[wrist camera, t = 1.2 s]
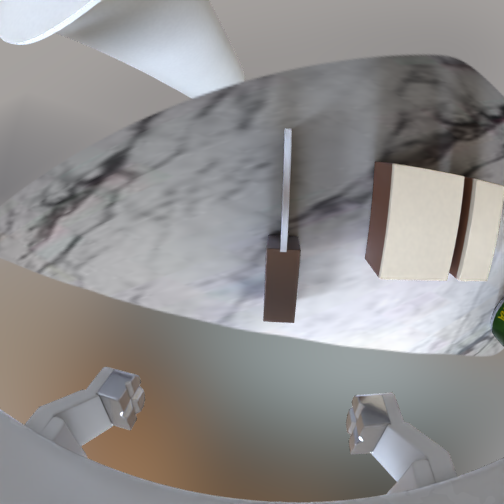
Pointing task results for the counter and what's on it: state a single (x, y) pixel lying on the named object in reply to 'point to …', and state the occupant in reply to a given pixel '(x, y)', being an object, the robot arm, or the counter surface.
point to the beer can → (498, 322)
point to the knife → (282, 257)
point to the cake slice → (477, 230)
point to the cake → (413, 222)
